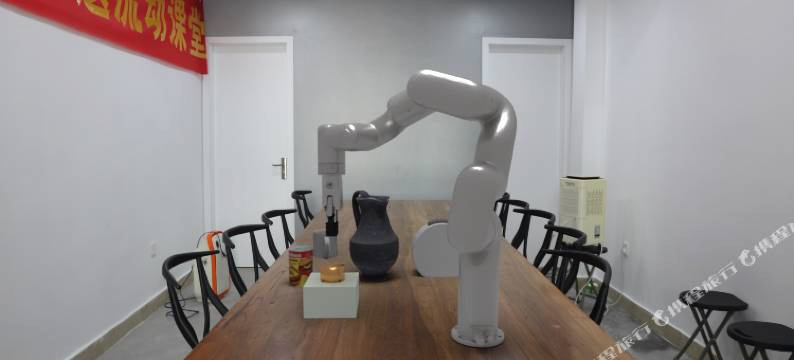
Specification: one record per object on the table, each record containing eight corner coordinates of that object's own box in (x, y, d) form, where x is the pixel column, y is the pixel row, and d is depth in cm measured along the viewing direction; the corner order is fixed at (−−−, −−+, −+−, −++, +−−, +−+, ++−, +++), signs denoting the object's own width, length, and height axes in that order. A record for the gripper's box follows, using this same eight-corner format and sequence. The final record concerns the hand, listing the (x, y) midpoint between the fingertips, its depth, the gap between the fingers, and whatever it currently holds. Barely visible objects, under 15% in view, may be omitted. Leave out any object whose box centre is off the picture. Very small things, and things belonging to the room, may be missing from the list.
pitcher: (368, 288, 150) (368, 195, 148) (334, 274, 166) (333, 190, 164) (409, 278, 161) (409, 192, 159) (373, 266, 177) (373, 187, 175)
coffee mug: (315, 252, 201) (314, 229, 200) (338, 251, 201) (338, 229, 200) (310, 259, 187) (310, 235, 187) (335, 259, 188) (335, 235, 187)
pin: (344, 311, 128) (343, 268, 127) (319, 311, 128) (318, 268, 127) (345, 303, 135) (345, 262, 134) (322, 303, 135) (321, 262, 134)
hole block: (356, 317, 125) (356, 286, 124) (303, 318, 125) (303, 287, 124) (358, 300, 139) (358, 272, 138) (311, 300, 138) (311, 272, 138)
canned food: (285, 283, 156) (284, 247, 155) (306, 279, 161) (305, 244, 160) (296, 289, 150) (295, 252, 149) (317, 284, 155) (317, 248, 154)
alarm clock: (468, 270, 172) (469, 217, 170) (472, 276, 164) (473, 220, 163) (410, 271, 171) (411, 217, 169) (412, 277, 164) (412, 221, 162)
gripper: (342, 171, 121) (343, 241, 122) (347, 168, 137) (347, 230, 138) (313, 171, 121) (314, 241, 122) (321, 167, 136) (322, 230, 138)
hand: (332, 234), depth 130 cm, fingers closed
